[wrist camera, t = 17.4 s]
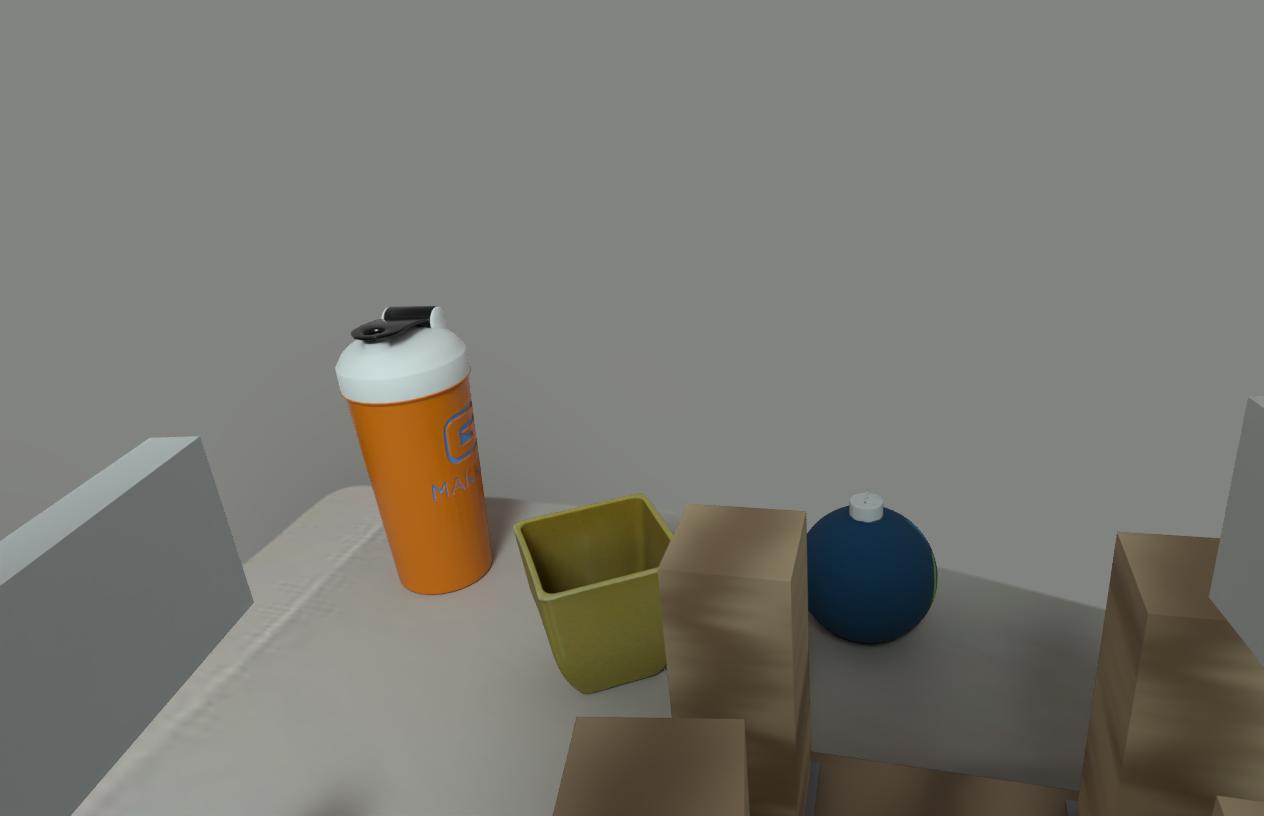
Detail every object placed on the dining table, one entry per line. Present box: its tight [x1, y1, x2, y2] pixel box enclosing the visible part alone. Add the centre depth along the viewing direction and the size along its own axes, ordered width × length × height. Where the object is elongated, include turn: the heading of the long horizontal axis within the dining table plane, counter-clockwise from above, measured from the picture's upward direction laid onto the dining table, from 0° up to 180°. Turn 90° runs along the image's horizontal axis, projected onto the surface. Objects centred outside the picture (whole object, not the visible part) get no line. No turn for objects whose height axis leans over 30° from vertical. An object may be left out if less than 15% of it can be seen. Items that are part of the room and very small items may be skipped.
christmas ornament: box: [807, 492, 937, 643], centre depth 53 cm, size 8×8×10 cm
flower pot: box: [513, 493, 674, 694], centre depth 53 cm, size 9×9×9 cm
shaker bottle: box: [335, 306, 492, 595], centre depth 62 cm, size 9×9×20 cm
